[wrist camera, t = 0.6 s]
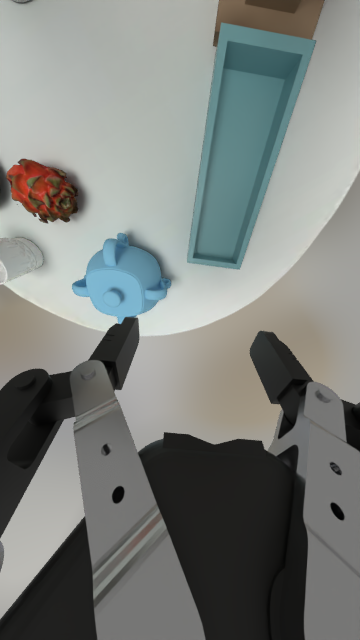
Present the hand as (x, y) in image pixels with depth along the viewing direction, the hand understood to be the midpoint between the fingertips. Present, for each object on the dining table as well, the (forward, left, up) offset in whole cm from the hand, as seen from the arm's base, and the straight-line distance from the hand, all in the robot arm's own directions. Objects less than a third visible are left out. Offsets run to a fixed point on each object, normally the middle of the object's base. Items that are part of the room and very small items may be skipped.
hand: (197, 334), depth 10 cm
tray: (-5, +12, -30) cm, 32 cm away
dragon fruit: (-24, -15, -30) cm, 41 cm away
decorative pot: (-4, -15, -30) cm, 34 cm away
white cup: (-23, -31, -30) cm, 49 cm away
